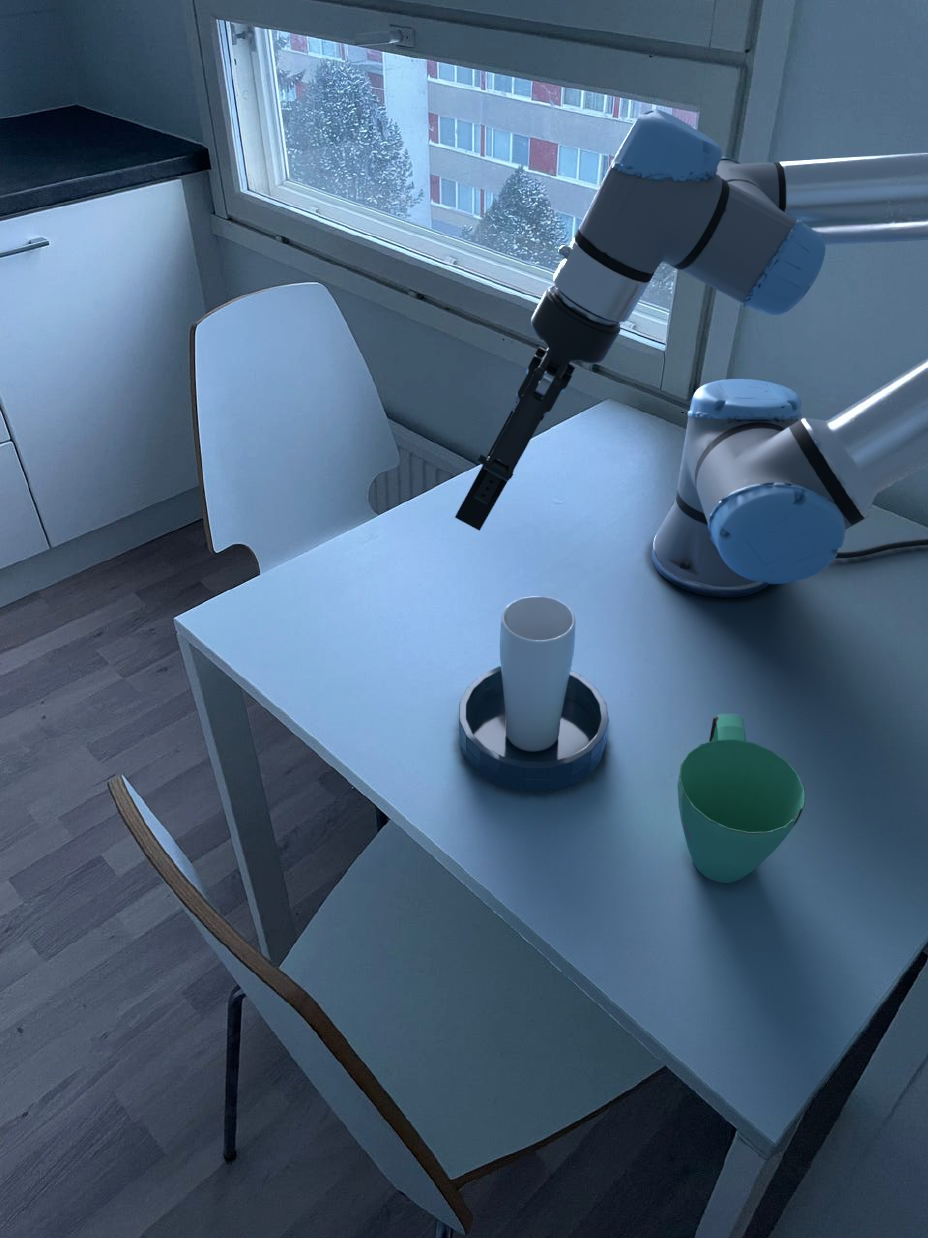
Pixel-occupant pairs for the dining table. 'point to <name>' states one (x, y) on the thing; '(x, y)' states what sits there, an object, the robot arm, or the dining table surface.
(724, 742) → the mug
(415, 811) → the dining table surface
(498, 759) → the round dark tray
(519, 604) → the drinking glass
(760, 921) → the dining table surface
